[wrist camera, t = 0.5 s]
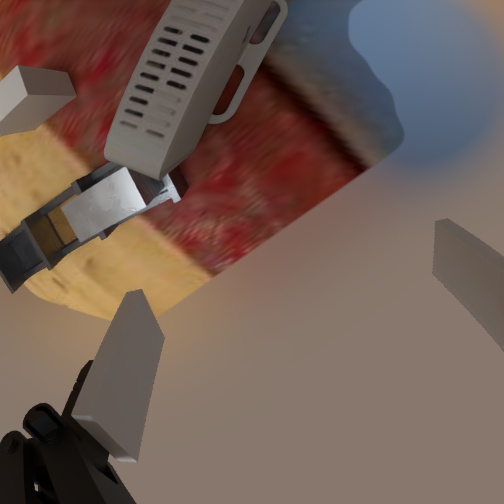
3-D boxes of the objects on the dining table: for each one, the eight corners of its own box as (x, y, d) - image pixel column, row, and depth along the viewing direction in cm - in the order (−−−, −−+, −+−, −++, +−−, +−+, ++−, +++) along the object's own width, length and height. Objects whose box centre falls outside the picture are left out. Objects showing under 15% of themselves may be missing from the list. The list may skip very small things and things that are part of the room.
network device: (213, 157, 35) (190, 201, 17) (147, 130, 33) (62, 149, 15) (306, -15, 26) (362, -101, 8) (241, -41, 24) (247, -140, 6)
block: (25, 106, 30) (-27, 111, 20) (67, 72, 29) (17, 65, 19) (35, 129, 31) (-17, 140, 21) (77, 96, 31) (27, 94, 21)
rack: (6, 236, 37) (-38, 270, 27) (161, 132, 34) (130, 139, 23) (29, 276, 40) (-9, 316, 30) (188, 187, 37) (169, 217, 26)
